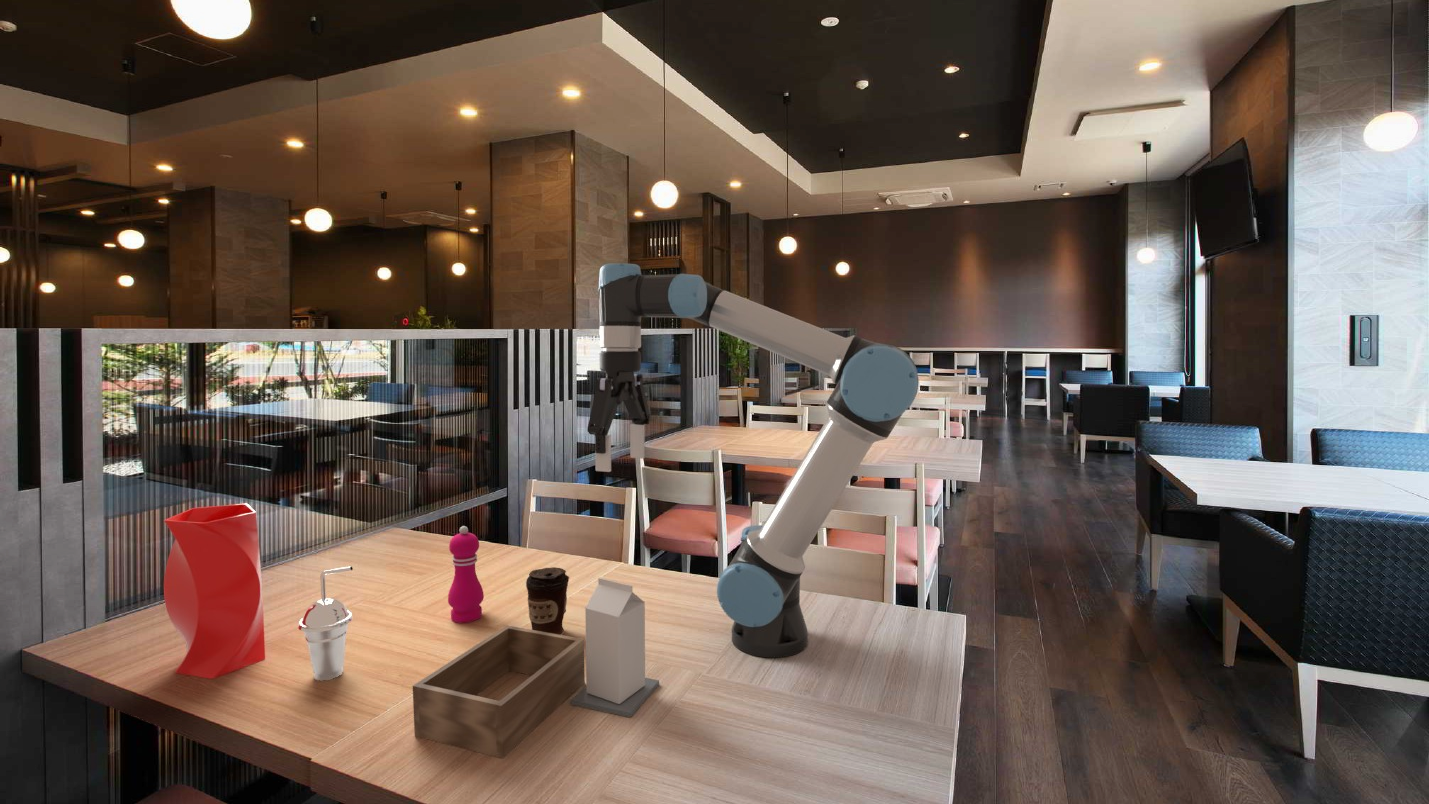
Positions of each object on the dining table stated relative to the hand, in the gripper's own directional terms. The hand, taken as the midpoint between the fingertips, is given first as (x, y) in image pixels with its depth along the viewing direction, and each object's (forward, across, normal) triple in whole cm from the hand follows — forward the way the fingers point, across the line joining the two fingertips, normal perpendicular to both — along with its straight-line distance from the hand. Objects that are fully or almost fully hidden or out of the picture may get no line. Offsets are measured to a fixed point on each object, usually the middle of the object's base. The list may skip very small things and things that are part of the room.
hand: (621, 464), depth 129 cm
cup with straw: (+37, +26, -45) cm, 64 cm away
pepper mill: (+37, -3, -39) cm, 54 cm away
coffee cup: (+37, -2, -18) cm, 41 cm away
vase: (+37, +28, -68) cm, 82 cm away
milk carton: (+36, +14, +6) cm, 39 cm away
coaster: (+37, +14, +6) cm, 40 cm away
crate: (+37, +24, -9) cm, 45 cm away
